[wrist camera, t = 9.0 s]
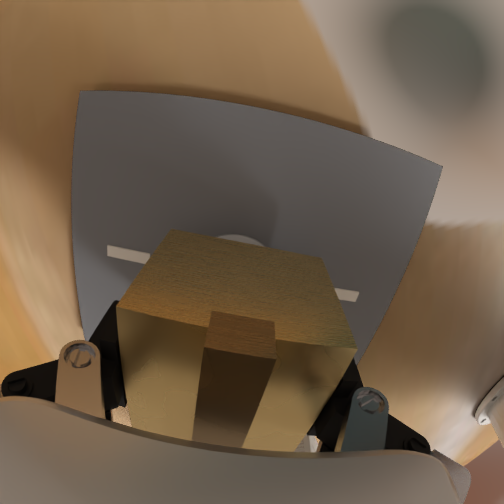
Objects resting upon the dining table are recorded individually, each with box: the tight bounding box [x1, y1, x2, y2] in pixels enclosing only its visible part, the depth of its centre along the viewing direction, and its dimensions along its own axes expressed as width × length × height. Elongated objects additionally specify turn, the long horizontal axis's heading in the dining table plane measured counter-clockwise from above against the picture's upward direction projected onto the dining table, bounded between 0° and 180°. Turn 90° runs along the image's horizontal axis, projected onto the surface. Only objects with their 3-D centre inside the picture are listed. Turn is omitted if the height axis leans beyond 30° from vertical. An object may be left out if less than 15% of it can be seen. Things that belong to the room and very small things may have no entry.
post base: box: [71, 91, 443, 366], centre depth 14 cm, size 18×16×5 cm
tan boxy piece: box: [116, 229, 358, 452], centre depth 10 cm, size 7×6×6 cm
